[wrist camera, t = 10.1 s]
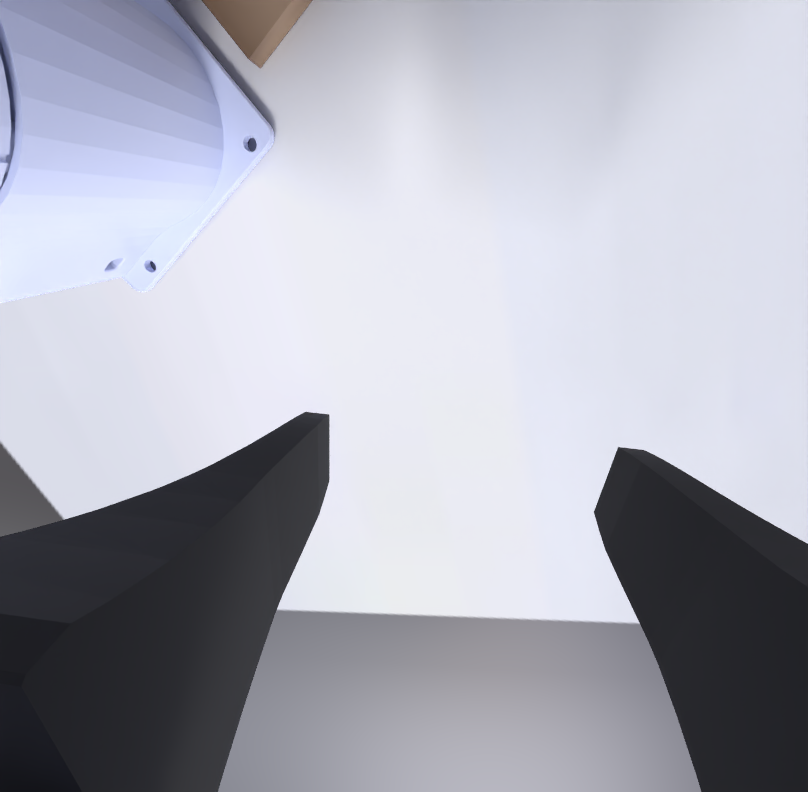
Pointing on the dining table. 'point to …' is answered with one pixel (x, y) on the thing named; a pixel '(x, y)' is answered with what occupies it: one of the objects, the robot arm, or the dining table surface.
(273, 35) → the board
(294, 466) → the robot arm
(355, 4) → the dining table surface
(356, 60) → the dining table surface
